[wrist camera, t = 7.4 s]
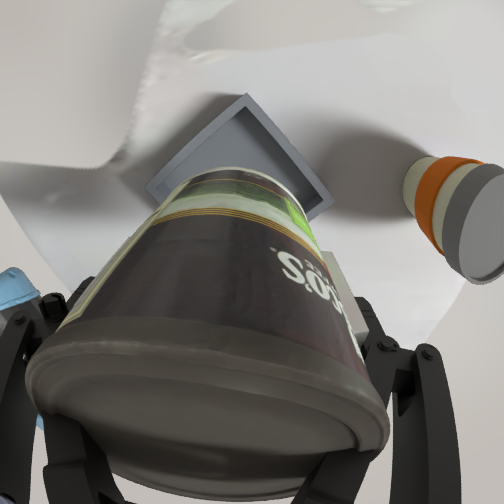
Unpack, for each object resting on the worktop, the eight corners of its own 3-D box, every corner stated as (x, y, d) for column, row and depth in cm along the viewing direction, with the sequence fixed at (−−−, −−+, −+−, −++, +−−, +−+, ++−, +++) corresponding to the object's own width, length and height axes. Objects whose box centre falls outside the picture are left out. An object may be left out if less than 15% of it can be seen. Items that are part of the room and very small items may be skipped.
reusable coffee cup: (373, 185, 33) (437, 233, 20) (433, 125, 29) (513, 144, 16) (418, 246, 37) (474, 306, 24) (470, 191, 33) (537, 232, 19)
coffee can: (273, 137, 15) (365, 244, 3) (328, 278, 20) (392, 473, 7) (126, 207, 17) (-21, 369, 5) (199, 322, 22) (166, 500, 9)
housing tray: (235, 261, 38) (233, 277, 35) (154, 179, 33) (143, 187, 29) (327, 192, 34) (335, 201, 30) (247, 95, 28) (246, 92, 25)
